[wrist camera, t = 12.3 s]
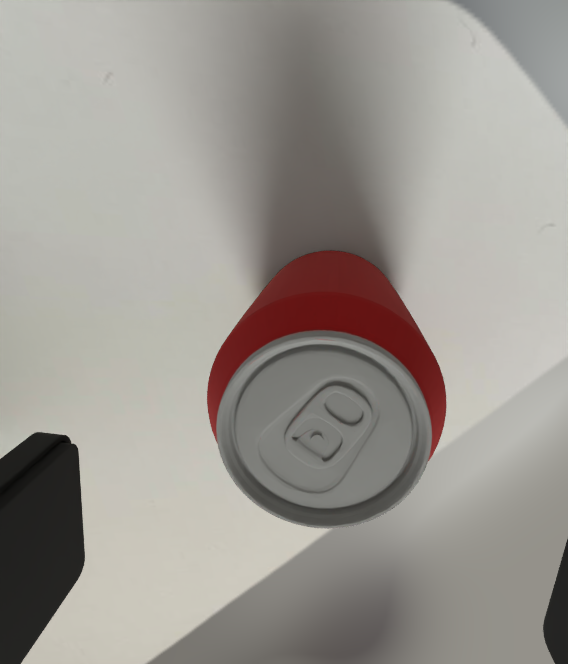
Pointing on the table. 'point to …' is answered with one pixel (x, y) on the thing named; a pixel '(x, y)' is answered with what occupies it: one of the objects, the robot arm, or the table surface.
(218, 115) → the table surface
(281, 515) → the beverage can
